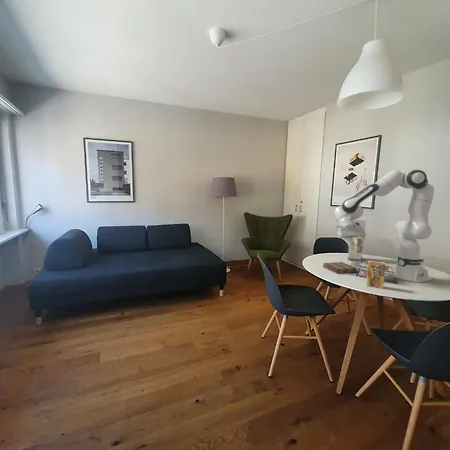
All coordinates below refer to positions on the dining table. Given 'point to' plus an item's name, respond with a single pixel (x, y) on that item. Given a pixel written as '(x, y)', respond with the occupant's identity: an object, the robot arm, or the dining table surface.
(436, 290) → the dining table surface
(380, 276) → the candy box
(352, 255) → the display case
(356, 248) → the birch block
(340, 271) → the walnut plinth
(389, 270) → the dining table surface
